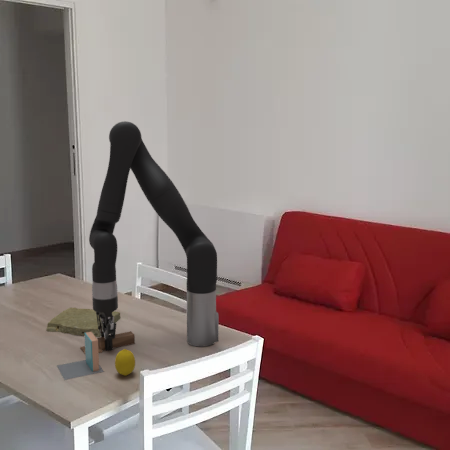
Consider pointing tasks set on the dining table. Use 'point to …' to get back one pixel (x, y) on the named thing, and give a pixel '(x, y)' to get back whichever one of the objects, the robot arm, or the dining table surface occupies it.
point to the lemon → (125, 362)
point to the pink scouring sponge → (91, 351)
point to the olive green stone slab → (77, 322)
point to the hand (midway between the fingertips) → (106, 347)
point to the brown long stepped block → (115, 341)
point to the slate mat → (76, 369)
